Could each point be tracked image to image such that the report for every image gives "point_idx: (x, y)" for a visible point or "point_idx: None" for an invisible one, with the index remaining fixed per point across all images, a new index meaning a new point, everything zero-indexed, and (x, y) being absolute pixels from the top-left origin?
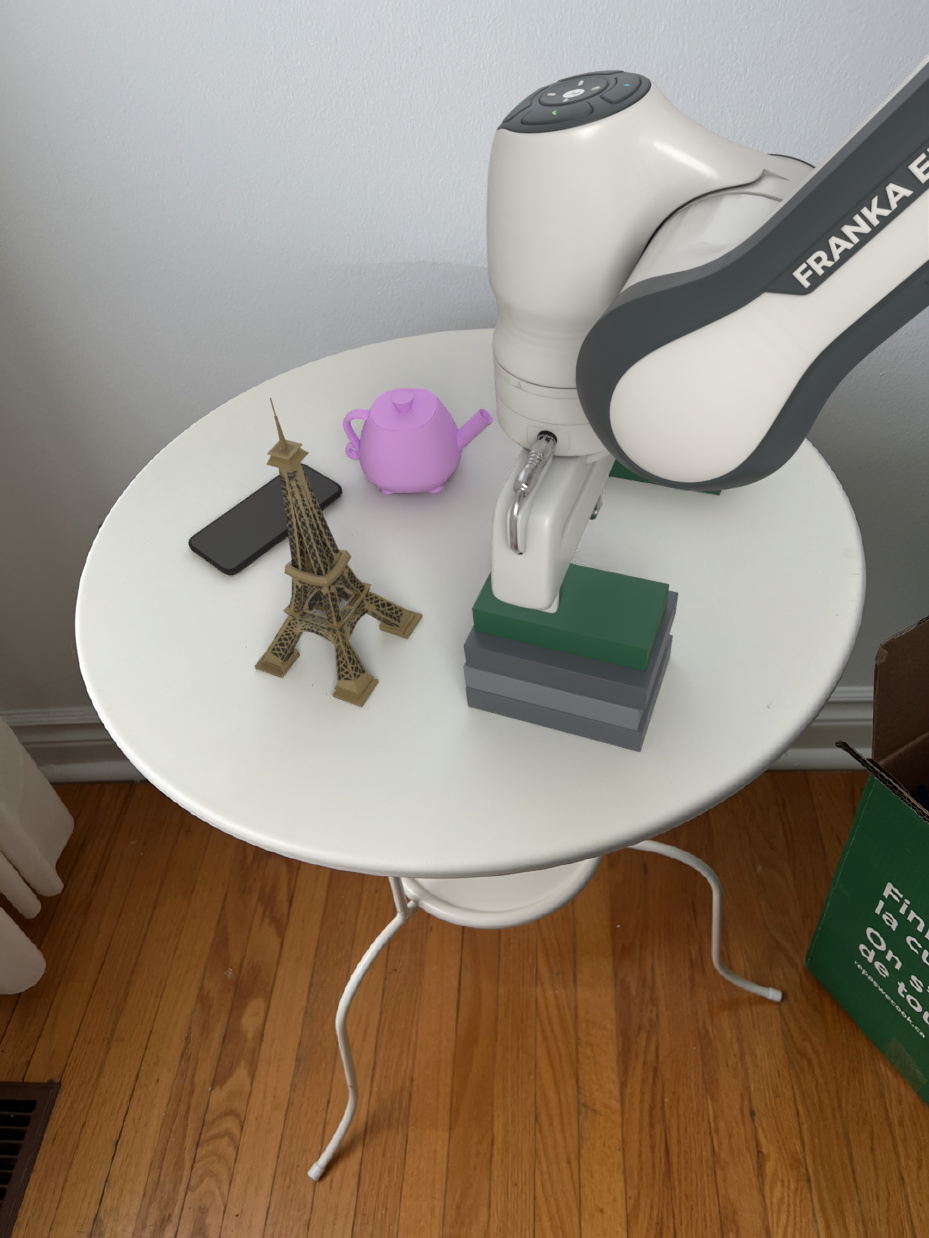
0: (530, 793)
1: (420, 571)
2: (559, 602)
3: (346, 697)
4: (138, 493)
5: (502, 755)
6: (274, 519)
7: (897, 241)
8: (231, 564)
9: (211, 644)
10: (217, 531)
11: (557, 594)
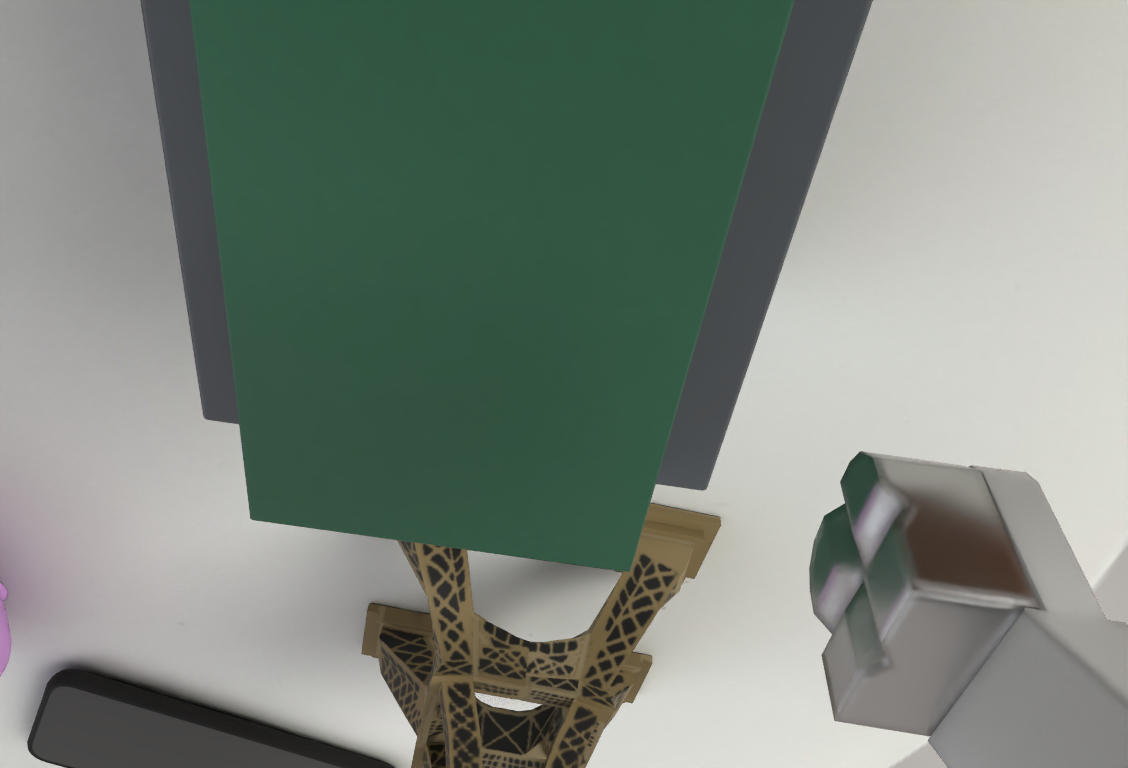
0: (1047, 48)
1: (231, 480)
2: (971, 483)
3: (701, 555)
4: None
5: (882, 163)
6: (221, 756)
7: None
8: None
9: None
10: None
11: (1095, 619)
